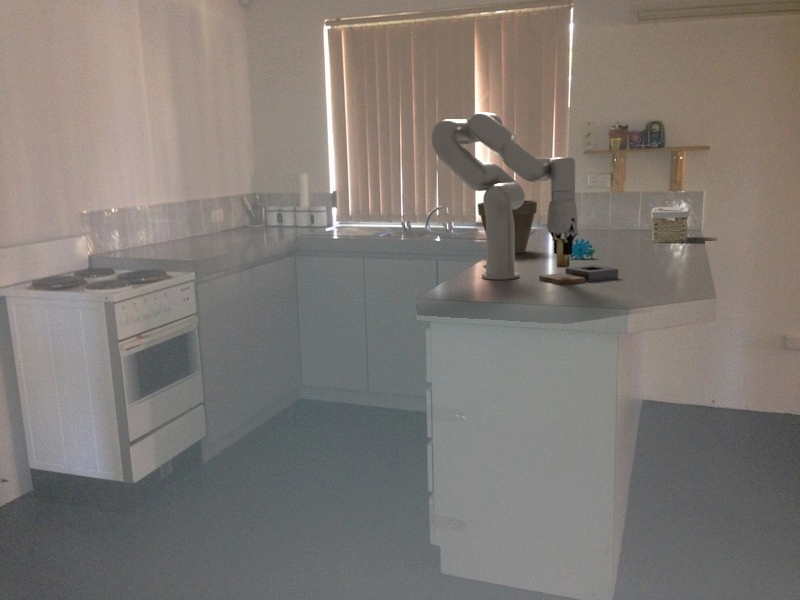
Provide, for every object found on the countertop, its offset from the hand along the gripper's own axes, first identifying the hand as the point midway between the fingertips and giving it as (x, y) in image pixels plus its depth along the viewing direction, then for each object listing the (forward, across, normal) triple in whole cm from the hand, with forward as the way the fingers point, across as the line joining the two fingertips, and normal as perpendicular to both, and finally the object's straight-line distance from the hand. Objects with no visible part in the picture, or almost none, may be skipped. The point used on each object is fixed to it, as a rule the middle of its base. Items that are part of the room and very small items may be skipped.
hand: (562, 253), depth 231 cm
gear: (+9, -39, +39) cm, 56 cm away
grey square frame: (+9, -1, +12) cm, 15 cm away
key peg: (+4, 0, 0) cm, 4 cm away
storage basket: (+9, -64, +111) cm, 129 cm away
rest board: (+9, 0, 0) cm, 9 cm away
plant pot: (+9, -74, +27) cm, 79 cm away
